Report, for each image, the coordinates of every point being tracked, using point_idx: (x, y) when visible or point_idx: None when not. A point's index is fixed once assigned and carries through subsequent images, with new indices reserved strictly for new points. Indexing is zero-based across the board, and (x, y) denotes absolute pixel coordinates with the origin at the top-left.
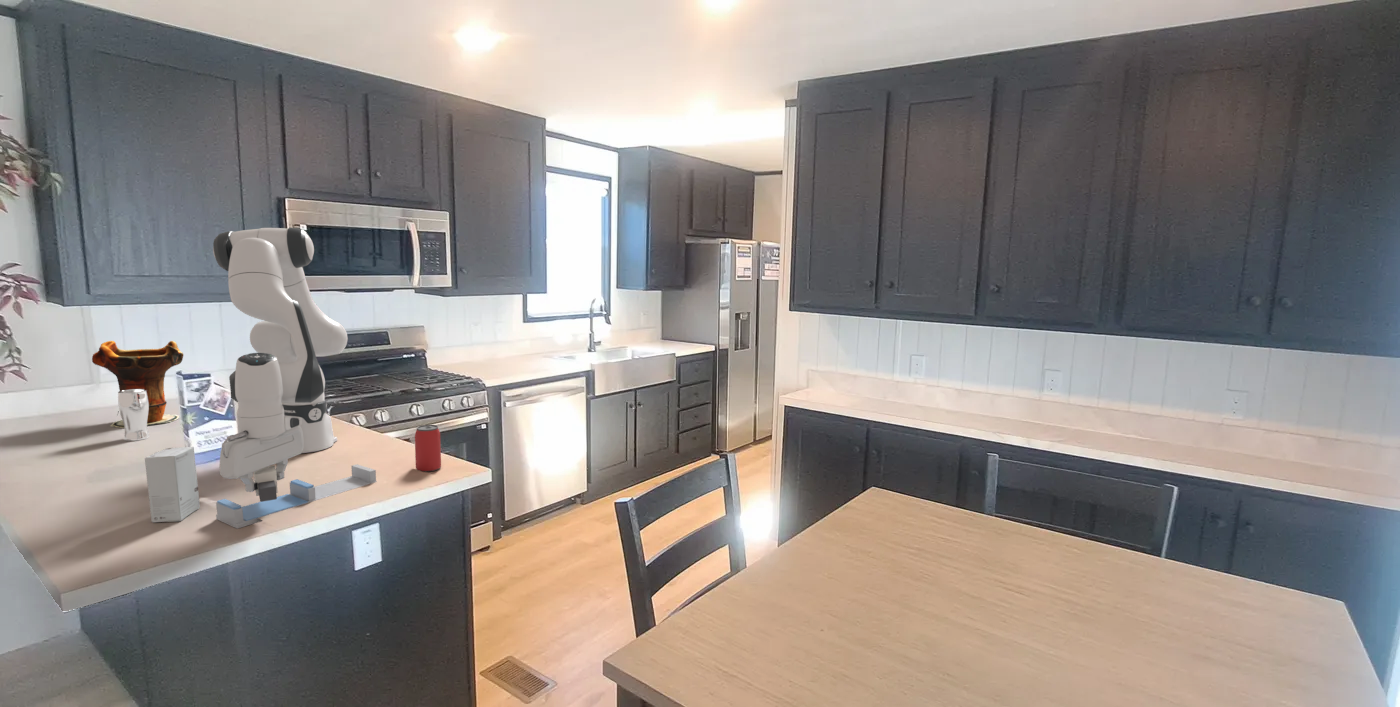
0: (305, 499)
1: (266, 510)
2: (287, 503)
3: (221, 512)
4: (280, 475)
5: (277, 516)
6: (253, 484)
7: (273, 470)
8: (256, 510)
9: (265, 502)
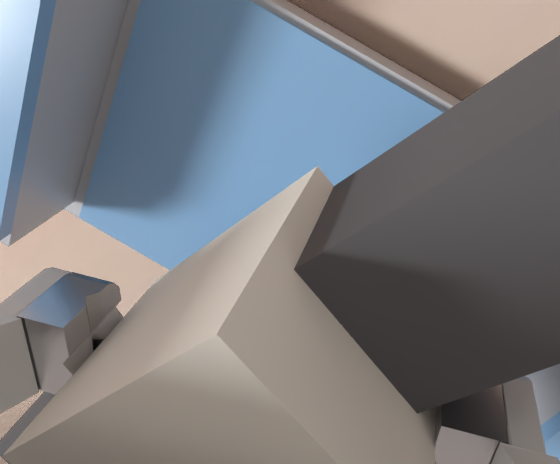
0: (123, 10)
1: None
2: (235, 107)
3: None
4: (71, 303)
5: (418, 73)
6: (521, 439)
7: (178, 397)
8: None
9: None
